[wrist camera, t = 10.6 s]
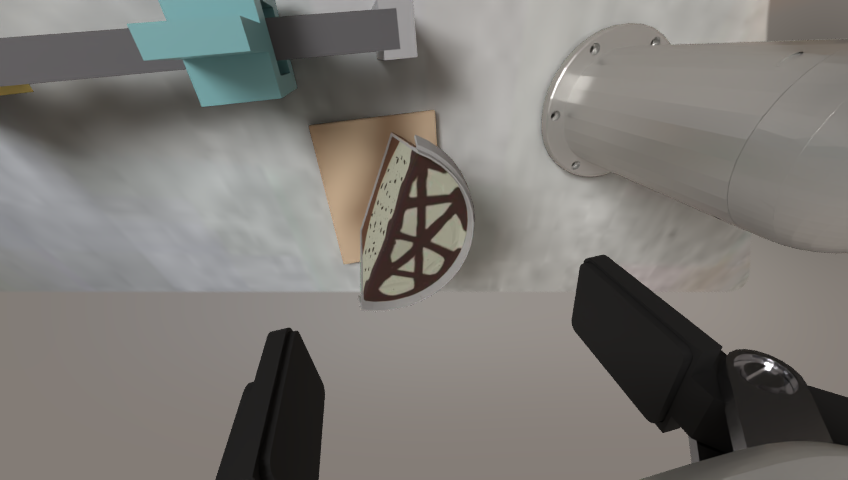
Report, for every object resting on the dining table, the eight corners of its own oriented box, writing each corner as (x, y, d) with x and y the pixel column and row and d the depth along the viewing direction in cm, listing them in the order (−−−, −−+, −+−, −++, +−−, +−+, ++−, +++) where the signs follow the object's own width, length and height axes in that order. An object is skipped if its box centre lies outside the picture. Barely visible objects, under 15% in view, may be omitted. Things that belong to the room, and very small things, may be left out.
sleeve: (272, -10, 20) (217, -58, 11) (297, 87, 23) (267, 107, 14) (203, -5, 19) (92, -52, 11) (237, 94, 22) (170, 118, 14)
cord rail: (398, -1, 22) (420, -26, 16) (404, 64, 24) (426, 67, 18) (-98, 35, 18) (-355, 23, 12) (-41, 109, 21) (-232, 135, 14)
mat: (433, 109, 27) (434, 110, 26) (441, 243, 33) (442, 246, 33) (309, 124, 25) (308, 126, 25) (343, 261, 32) (343, 264, 31)
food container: (415, 256, 33) (439, 327, 24) (355, 243, 30) (358, 316, 22) (464, 138, 28) (516, 175, 19) (396, 113, 26) (421, 142, 17)
